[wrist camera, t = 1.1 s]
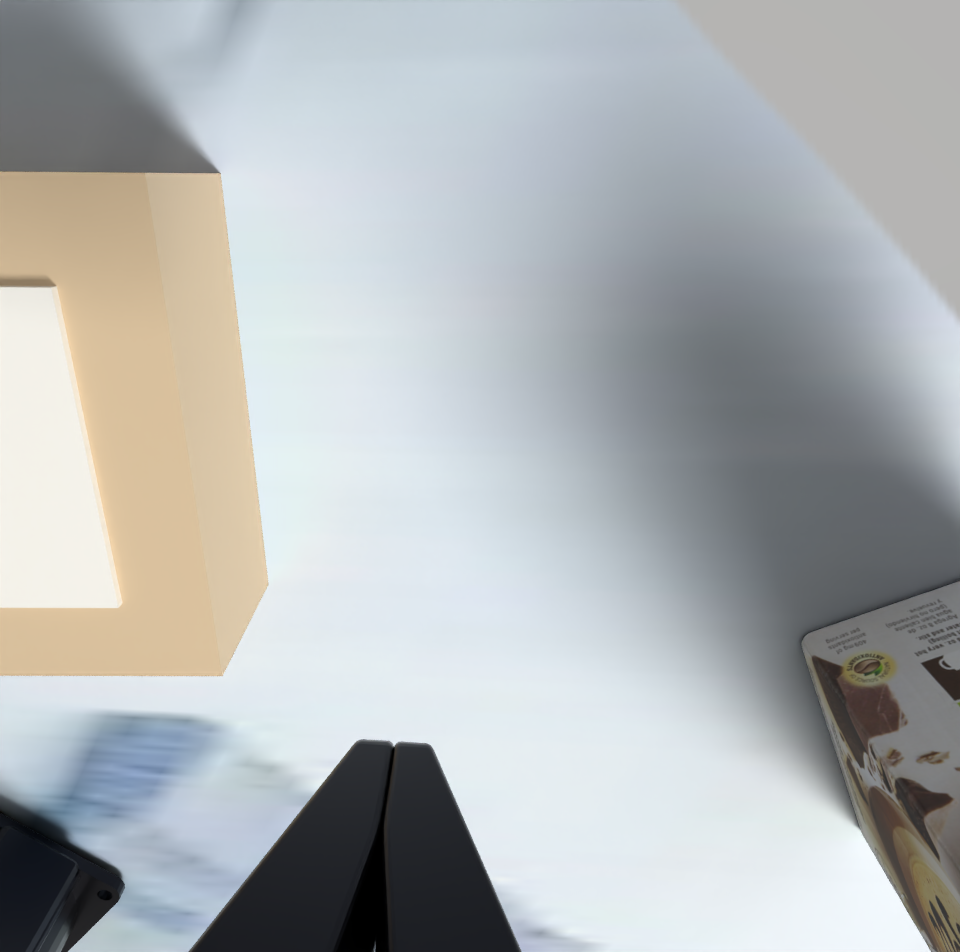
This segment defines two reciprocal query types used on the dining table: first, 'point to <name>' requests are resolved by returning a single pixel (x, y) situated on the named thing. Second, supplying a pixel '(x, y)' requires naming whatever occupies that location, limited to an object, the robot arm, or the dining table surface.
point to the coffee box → (901, 744)
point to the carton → (122, 429)
